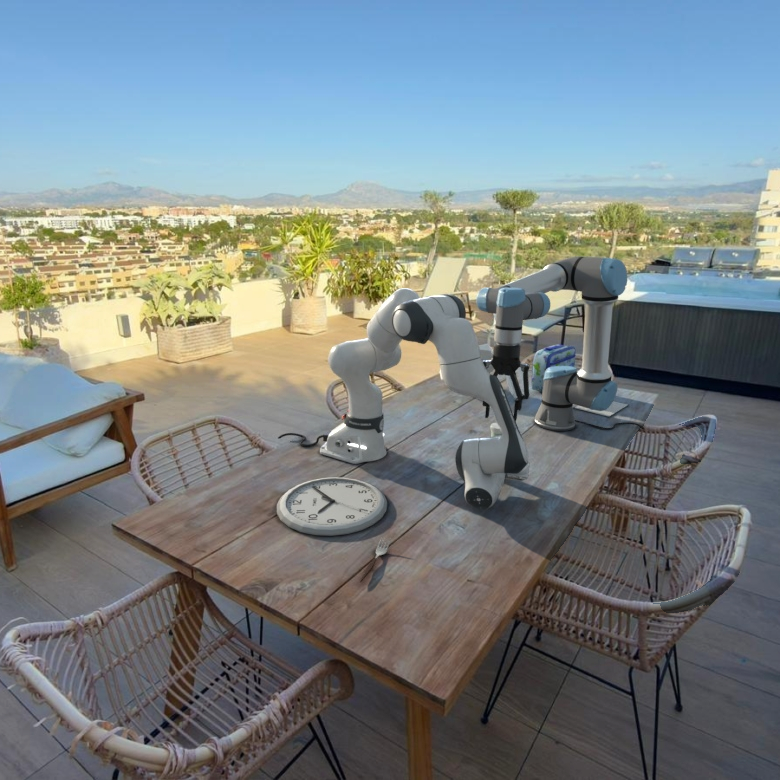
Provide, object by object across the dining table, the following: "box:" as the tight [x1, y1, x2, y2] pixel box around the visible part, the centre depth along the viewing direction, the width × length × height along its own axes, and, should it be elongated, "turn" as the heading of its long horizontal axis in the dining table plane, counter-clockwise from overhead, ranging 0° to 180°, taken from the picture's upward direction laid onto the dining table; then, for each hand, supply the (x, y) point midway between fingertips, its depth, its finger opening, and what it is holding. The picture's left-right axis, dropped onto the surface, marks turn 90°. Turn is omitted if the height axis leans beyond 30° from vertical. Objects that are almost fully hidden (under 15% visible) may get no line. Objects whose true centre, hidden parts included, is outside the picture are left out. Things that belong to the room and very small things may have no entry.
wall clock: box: [276, 476, 388, 537], centre depth 142 cm, size 30×2×30 cm
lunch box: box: [530, 344, 577, 392], centre depth 247 cm, size 26×11×21 cm, turn 134°
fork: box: [359, 536, 392, 583], centre depth 118 cm, size 3×16×2 cm, turn 160°
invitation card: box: [573, 400, 629, 418], centre depth 226 cm, size 21×1×15 cm
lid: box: [489, 422, 501, 434], centre depth 157 cm, size 6×6×2 cm
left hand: (498, 454), depth 160 cm, fingers closed on jar, 5 cm apart
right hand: (500, 418), depth 156 cm, fingers open, 7 cm apart
